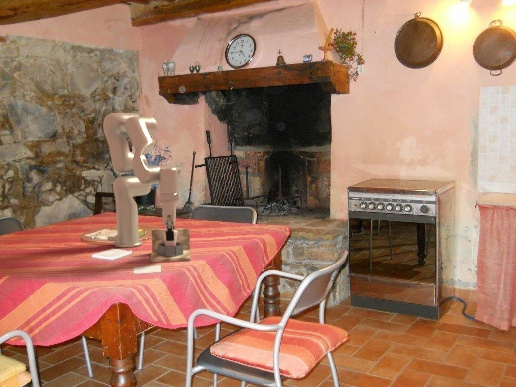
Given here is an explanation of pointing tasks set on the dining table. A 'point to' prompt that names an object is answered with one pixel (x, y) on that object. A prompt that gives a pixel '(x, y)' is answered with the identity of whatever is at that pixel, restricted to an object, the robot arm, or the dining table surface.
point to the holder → (170, 253)
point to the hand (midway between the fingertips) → (170, 238)
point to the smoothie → (170, 243)
